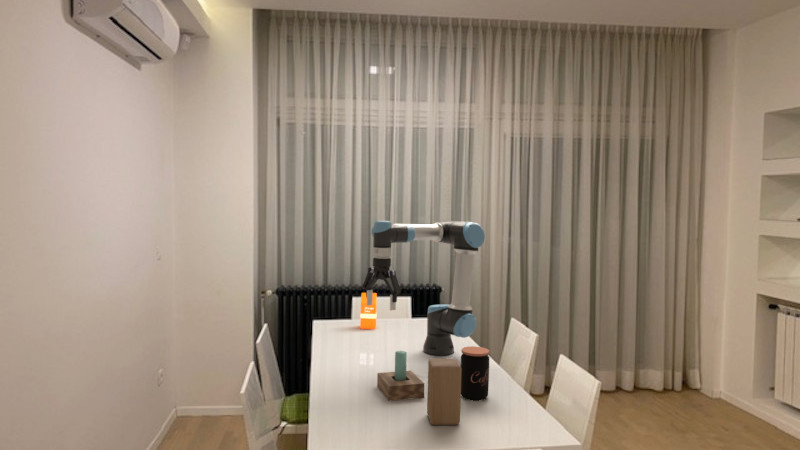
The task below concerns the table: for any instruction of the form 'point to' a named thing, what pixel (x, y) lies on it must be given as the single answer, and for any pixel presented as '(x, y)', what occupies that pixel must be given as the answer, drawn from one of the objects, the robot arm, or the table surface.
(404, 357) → the pin
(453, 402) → the wooden block
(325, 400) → the table surface
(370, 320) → the orange juice
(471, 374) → the coffee jar
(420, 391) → the socket block
